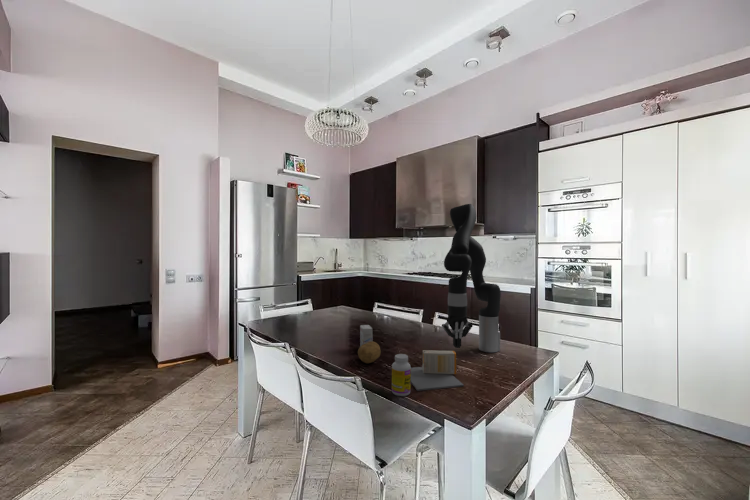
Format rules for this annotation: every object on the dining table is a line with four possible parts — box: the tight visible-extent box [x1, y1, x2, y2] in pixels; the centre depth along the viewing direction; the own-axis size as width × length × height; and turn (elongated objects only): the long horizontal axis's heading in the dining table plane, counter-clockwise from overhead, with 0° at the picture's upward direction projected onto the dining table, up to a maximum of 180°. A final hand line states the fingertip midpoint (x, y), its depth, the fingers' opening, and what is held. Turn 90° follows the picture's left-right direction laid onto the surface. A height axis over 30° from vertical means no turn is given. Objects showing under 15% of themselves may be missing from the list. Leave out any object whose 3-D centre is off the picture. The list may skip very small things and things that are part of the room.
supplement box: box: [422, 349, 457, 375], centre depth 129 cm, size 8×5×13 cm
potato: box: [357, 341, 382, 364], centre depth 142 cm, size 10×14×8 cm
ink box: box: [359, 324, 374, 348], centre depth 158 cm, size 9×5×12 cm, turn 13°
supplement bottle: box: [391, 353, 412, 397], centre depth 112 cm, size 7×7×13 cm
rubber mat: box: [411, 366, 465, 392], centre depth 125 cm, size 18×20×1 cm
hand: (457, 347), depth 128 cm, fingers closed
